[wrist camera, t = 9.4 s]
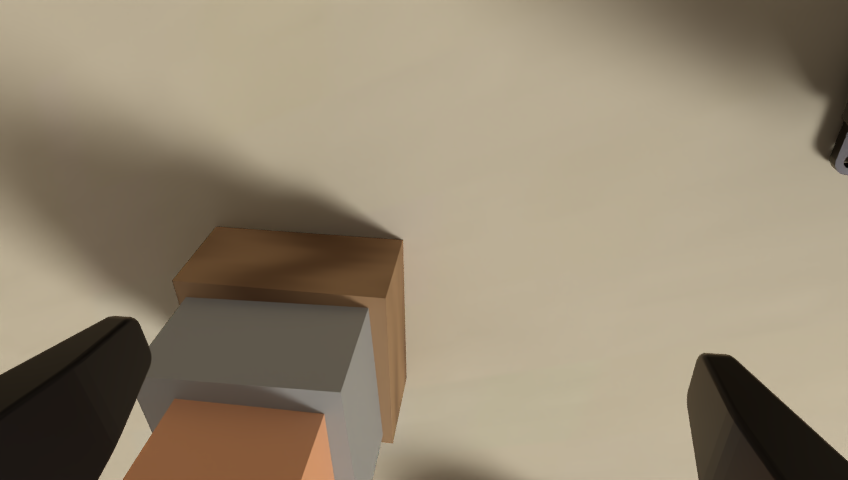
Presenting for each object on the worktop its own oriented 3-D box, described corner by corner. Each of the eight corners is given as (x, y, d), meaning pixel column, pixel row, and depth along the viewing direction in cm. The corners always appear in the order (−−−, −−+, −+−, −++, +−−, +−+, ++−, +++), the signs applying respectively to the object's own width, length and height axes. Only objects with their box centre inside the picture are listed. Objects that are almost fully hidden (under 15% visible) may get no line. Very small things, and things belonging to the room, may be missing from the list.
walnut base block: (403, 237, 24) (385, 298, 21) (407, 374, 28) (392, 443, 25) (218, 223, 25) (172, 280, 21) (249, 359, 29) (215, 423, 26)
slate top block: (368, 307, 21) (340, 392, 18) (382, 434, 25) (362, 524, 21) (185, 296, 22) (126, 375, 18) (227, 421, 26) (183, 504, 22)
